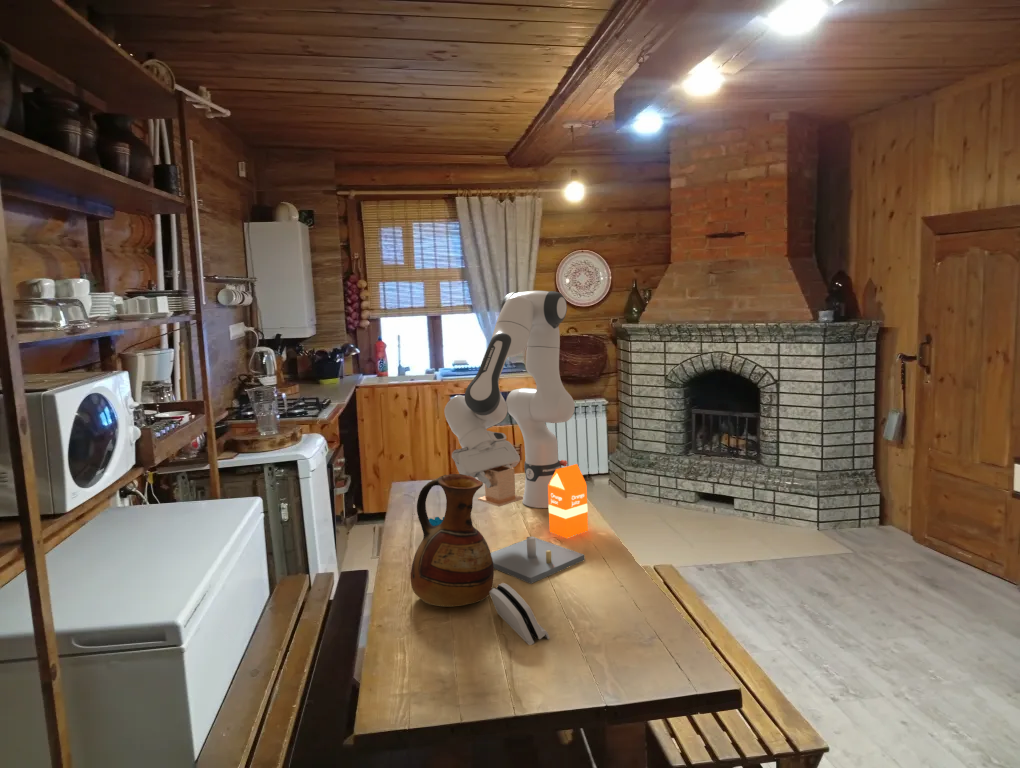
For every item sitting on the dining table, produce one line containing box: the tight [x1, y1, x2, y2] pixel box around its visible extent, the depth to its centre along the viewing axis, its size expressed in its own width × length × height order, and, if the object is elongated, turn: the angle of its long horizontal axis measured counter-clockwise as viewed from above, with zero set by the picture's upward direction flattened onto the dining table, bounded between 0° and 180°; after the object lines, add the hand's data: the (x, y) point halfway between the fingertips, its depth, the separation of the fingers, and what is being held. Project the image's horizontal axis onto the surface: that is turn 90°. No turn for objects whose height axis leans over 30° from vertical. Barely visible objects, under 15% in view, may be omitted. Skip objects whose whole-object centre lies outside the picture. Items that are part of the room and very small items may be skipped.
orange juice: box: [548, 463, 589, 539], centre depth 207 cm, size 8×9×20 cm
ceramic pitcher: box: [410, 473, 495, 607], centre depth 165 cm, size 20×20×30 cm
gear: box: [428, 516, 444, 526], centre depth 207 cm, size 11×6×10 cm
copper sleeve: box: [477, 466, 523, 507], centre depth 196 cm, size 9×9×9 cm
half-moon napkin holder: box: [489, 582, 550, 646], centre depth 151 cm, size 17×5×10 cm, turn 25°
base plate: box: [490, 536, 586, 584], centre depth 187 cm, size 20×20×6 cm
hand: (501, 483), depth 196 cm, fingers closed on copper sleeve, 6 cm apart
